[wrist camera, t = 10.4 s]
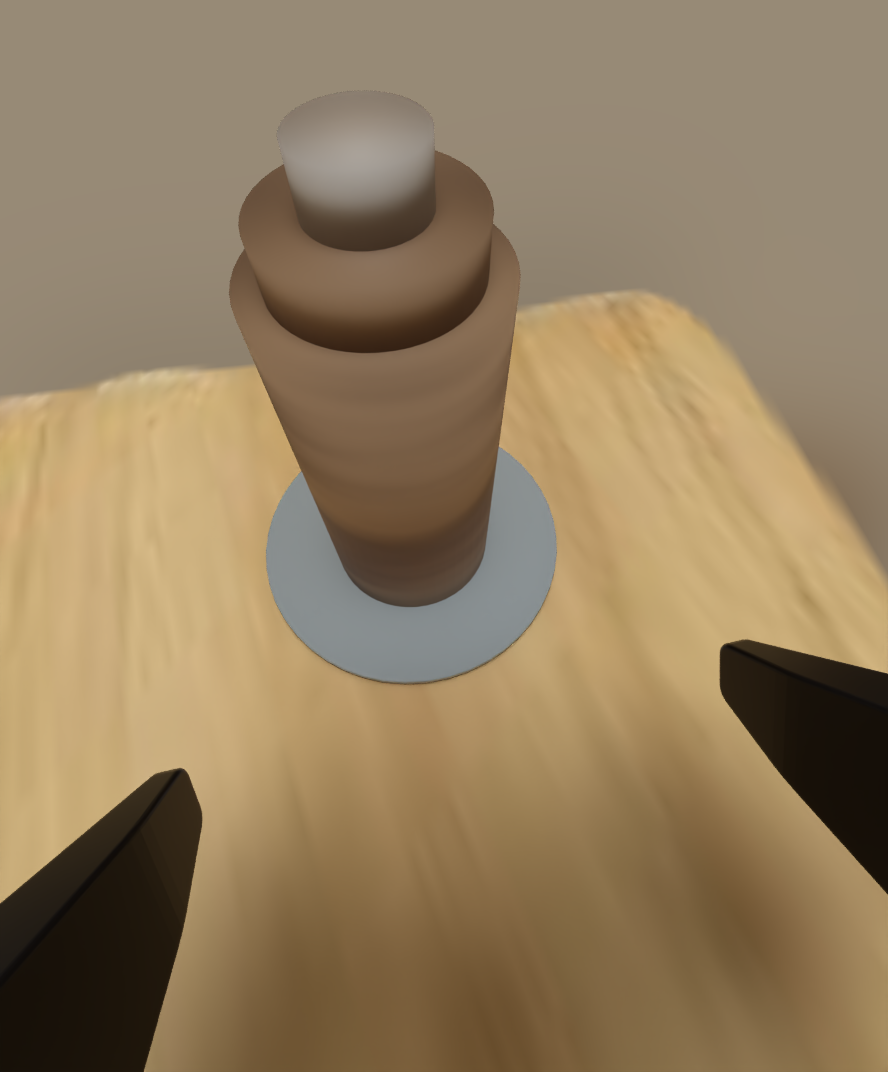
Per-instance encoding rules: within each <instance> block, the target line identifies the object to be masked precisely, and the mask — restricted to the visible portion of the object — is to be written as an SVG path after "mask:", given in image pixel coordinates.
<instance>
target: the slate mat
mask: <svg viewBox="0 0 888 1072" xmlns="http://www.w3.org/2000/svg"><path fill="white" fill-rule="evenodd" d="M556 554H557V550H556V533H555V527H554V521H553V518H552V515H551V512H550V509H549V506H548V503H547V501H546V499H545V497H544V495H543V493H542V491H541V489H540V488H539V486H538V485H537V483H536V482H535V480H534V479H533V477H532V476H531V475H530V474H529V473H528V471H527V470H526V469H525V468H524V467H523V466H522V465H521V464H520V463H519V462H518V461H517V460H516V459H515V458H513V457H512V456H511V455H510V454H509V453H507V452H506V451H504V450H503V449H502V448H500V447H499V448H498V455H497V463H496V471H495V478H494V486H493V493H492V501H491V508H490V516H489V524H488V531H487V539H486V546H485V552H484V556H483V559H482V562H481V564H480V566H479V568H478V570H477V572H476V573H475V575H474V576H473V577H472V579H471V580H470V581H469V582H468V583H467V584H466V585H465V586H464V587H463V588H462V589H461V590H459V591H458V592H457V593H455V594H454V595H452V596H450V597H449V598H447V599H445V600H442V601H440V602H437V603H434V604H430V605H427V606H420V607H399V606H393V605H389V604H385V603H383V602H380V601H377V600H375V599H373V598H372V597H370V596H368V595H367V594H365V593H364V592H362V591H361V590H360V589H359V588H358V587H357V586H356V585H355V584H354V583H353V582H352V581H351V579H350V578H349V577H348V575H347V573H346V571H345V570H344V568H343V565H342V563H341V561H340V558H339V556H338V554H337V552H336V549H335V547H334V545H333V542H332V540H331V538H330V535H329V533H328V531H327V529H326V526H325V524H324V522H323V519H322V517H321V515H320V512H319V510H318V508H317V505H316V503H315V501H314V499H313V496H312V494H311V492H310V489H309V487H308V485H307V482H306V480H305V478H304V476H303V473H302V471H301V472H300V473H299V474H298V476H297V477H296V478H295V479H294V481H293V482H292V483H291V485H290V486H289V487H288V489H287V490H286V492H285V494H284V495H283V497H282V499H281V500H280V502H279V504H278V507H277V509H276V511H275V514H274V516H273V519H272V522H271V526H270V530H269V534H268V541H267V549H266V561H267V573H268V578H269V584H270V587H271V590H272V593H273V596H274V599H275V602H276V604H277V606H278V608H279V610H280V612H281V613H282V615H283V617H284V619H285V620H286V622H287V623H288V624H289V626H290V627H291V628H292V630H293V631H294V632H295V634H296V635H297V636H298V637H299V638H300V639H301V640H302V641H303V642H304V643H305V644H306V645H307V646H308V647H309V648H310V649H311V650H312V651H313V652H315V653H316V654H318V655H319V656H320V657H322V658H323V659H324V660H326V661H327V662H329V663H331V664H333V665H334V666H336V667H338V668H340V669H342V670H344V671H346V672H349V673H351V674H354V675H357V676H360V677H362V678H366V679H370V680H375V681H380V682H384V683H397V684H418V683H430V682H435V681H440V680H445V679H449V678H452V677H455V676H458V675H461V674H464V673H467V672H470V671H472V670H474V669H476V668H478V667H480V666H482V665H484V664H486V663H488V662H489V661H491V660H492V659H494V658H495V657H497V656H498V655H500V654H501V653H503V652H504V651H505V650H506V649H507V648H508V647H509V646H511V645H512V644H513V643H514V642H515V641H516V640H517V639H518V638H519V637H520V636H521V635H522V634H523V633H524V631H525V630H526V629H527V628H528V627H529V625H530V624H531V623H532V621H533V620H534V618H535V616H536V615H537V613H538V612H539V610H540V608H541V606H542V604H543V602H544V599H545V597H546V595H547V593H548V591H549V588H550V585H551V581H552V578H553V574H554V570H555V562H556Z"/></svg>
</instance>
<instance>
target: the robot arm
mask: <svg viewBox="0 0 888 1072" xmlns="http://www.w3.org/2000/svg"><path fill="white" fill-rule="evenodd" d="M720 689H721V693H722V695H723V697H724V699H725V701H726V702H727V704H728V705H729V706H730V708H731V709H732V710H733V712H734V713H735V714H736V716H737V717H738V718H739V720H740V721H741V722H742V724H743V725H744V726H745V728H746V729H747V730H748V732H749V733H750V734H751V736H752V737H753V738H754V740H755V741H756V742H757V744H758V745H759V747H760V748H761V749H762V751H763V752H764V753H765V755H766V756H767V757H768V759H769V760H770V761H771V763H772V764H773V765H774V766H775V768H776V769H777V770H778V772H779V773H780V774H781V775H782V777H783V778H784V779H785V780H786V781H787V782H788V784H789V785H790V786H791V787H792V788H793V789H794V791H795V792H796V793H797V794H798V795H799V796H800V797H801V798H802V799H803V801H804V802H805V803H806V804H807V805H808V806H809V807H810V808H811V809H812V811H813V812H814V813H815V814H816V815H817V816H818V817H819V818H820V819H821V821H822V822H823V823H824V824H825V825H826V826H827V827H828V828H829V830H830V831H831V832H832V833H833V834H834V835H835V836H836V837H837V838H838V840H839V841H840V842H841V843H842V844H843V845H844V846H845V847H846V848H847V850H848V851H849V852H850V853H851V854H852V855H853V856H854V857H855V858H856V860H857V861H858V862H859V863H860V864H861V865H862V866H863V867H864V869H865V870H866V871H867V872H868V873H869V874H870V875H871V876H872V877H873V879H874V880H875V881H876V882H877V883H878V884H879V885H880V886H881V887H882V889H883V890H884V891H885V892H886V893H887V894H888V674H887V673H883V672H879V671H875V670H871V669H866V668H862V667H858V666H854V665H850V664H846V663H842V662H838V661H834V660H830V659H825V658H821V657H817V656H813V655H809V654H805V653H801V652H797V651H793V650H788V649H784V648H780V647H776V646H772V645H768V644H764V643H760V642H756V641H751V640H739V641H735V642H731V643H726V644H724V645H723V646H722V647H721V650H720ZM201 828H202V811H201V807H200V804H199V801H198V799H197V796H196V793H195V791H194V788H193V785H192V783H191V780H190V777H189V775H188V773H187V772H186V771H185V770H184V769H182V768H177V769H173V770H169V771H164V772H160V773H157V774H154V775H153V776H152V777H150V778H149V779H148V780H147V781H146V782H145V783H143V784H142V785H141V786H140V787H139V788H137V789H136V790H135V791H134V792H133V793H131V794H130V795H129V796H128V797H127V798H125V799H124V800H123V801H122V802H121V803H119V804H118V805H117V806H116V807H115V808H114V809H112V810H111V811H110V812H109V813H108V814H106V815H105V816H104V817H103V818H102V819H100V820H99V821H98V822H97V823H96V824H94V825H93V826H92V827H91V828H90V829H88V830H87V831H86V832H85V833H84V834H83V835H81V836H80V837H79V838H78V839H77V840H75V841H74V842H73V843H72V844H71V845H69V846H68V847H67V848H66V849H65V850H63V851H62V852H61V853H60V854H59V855H58V856H56V857H55V858H54V859H53V860H52V861H50V862H49V863H48V864H47V865H46V866H44V867H43V868H42V869H41V870H40V871H38V872H37V873H36V874H35V875H34V876H32V877H31V878H30V879H29V880H28V881H27V882H25V883H24V884H23V885H22V886H21V887H19V888H18V889H17V890H16V891H15V892H13V893H12V894H11V895H10V896H9V897H7V898H6V899H5V900H4V901H3V902H1V903H0V1072H144V1069H145V1065H146V1061H147V1058H148V1054H149V1051H150V1047H151V1044H152V1040H153V1037H154V1033H155V1029H156V1026H157V1022H158V1019H159V1015H160V1012H161V1008H162V1004H163V1001H164V997H165V994H166V990H167V987H168V983H169V979H170V976H171V972H172V969H173V965H174V962H175V958H176V955H177V951H178V947H179V943H180V939H181V936H182V932H183V927H184V922H185V918H186V913H187V907H188V901H189V896H190V890H191V885H192V879H193V873H194V868H195V862H196V856H197V851H198V845H199V839H200V834H201Z"/></svg>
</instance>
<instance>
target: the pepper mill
mask: <svg viewBox="0 0 888 1072" xmlns="http://www.w3.org/2000/svg"><path fill="white" fill-rule="evenodd" d="M277 140H278V143H279V147H280V151H281V155H282V159H283V163H284V164H283V165H282V166H280V167H278V168H277V169H275V170H274V171H272V172H271V173H269V174H268V175H267V176H265V177H264V178H263V179H262V180H261V181H260V182H259V183H258V184H257V185H256V186H255V187H254V188H253V189H252V190H251V192H250V193H249V194H248V196H247V197H246V199H245V201H244V203H243V205H242V208H241V211H240V215H239V232H240V237H241V240H242V242H243V245H244V248H245V249H244V251H243V252H242V254H241V255H240V257H239V259H238V260H237V263H236V264H235V267H234V269H233V272H232V276H231V280H230V289H229V295H230V303H231V308H232V310H233V313H234V316H235V319H236V321H237V324H238V326H239V328H240V330H241V333H242V335H243V337H244V340H245V342H246V344H247V347H248V349H249V351H250V353H251V356H252V358H253V360H254V363H255V365H256V367H257V370H258V372H259V374H260V377H261V379H262V381H263V383H264V386H265V388H266V390H267V393H268V395H269V397H270V400H271V402H272V404H273V406H274V409H275V411H276V413H277V416H278V418H279V420H280V423H281V425H282V427H283V429H284V432H285V434H286V436H287V439H288V441H289V443H290V446H291V448H292V450H293V453H294V455H295V457H296V459H297V462H298V464H299V466H300V469H301V471H302V473H303V476H304V478H305V480H306V482H307V485H308V487H309V489H310V492H311V494H312V496H313V499H314V501H315V503H316V505H317V508H318V510H319V512H320V515H321V517H322V519H323V522H324V524H325V526H326V529H327V531H328V533H329V535H330V538H331V540H332V542H333V545H334V547H335V549H336V552H337V554H338V556H339V558H340V561H341V563H342V565H343V568H344V570H345V571H346V573H347V575H348V577H349V578H350V579H351V581H352V582H353V583H354V584H355V585H356V586H357V587H358V588H359V589H360V590H361V591H362V592H364V593H365V594H367V595H368V596H370V597H372V598H373V599H375V600H377V601H380V602H383V603H385V604H389V605H393V606H399V607H420V606H427V605H430V604H434V603H437V602H440V601H442V600H445V599H447V598H449V597H450V596H452V595H454V594H455V593H457V592H458V591H459V590H461V589H462V588H463V587H464V586H465V585H466V584H467V583H468V582H469V581H470V580H471V579H472V577H473V576H474V575H475V573H476V572H477V570H478V568H479V566H480V564H481V562H482V559H483V556H484V552H485V546H486V539H487V531H488V524H489V516H490V508H491V501H492V493H493V486H494V478H495V471H496V463H497V455H498V448H499V440H500V433H501V425H502V418H503V410H504V402H505V395H506V387H507V380H508V372H509V365H510V357H511V349H512V342H513V334H514V327H515V319H516V312H517V304H518V296H519V289H520V268H519V262H518V259H517V256H516V253H515V251H514V249H513V247H512V245H511V244H510V242H509V240H508V239H507V238H506V237H505V235H504V234H503V233H502V232H501V231H500V230H499V229H498V228H497V227H496V226H495V225H494V224H493V216H494V207H493V200H492V197H491V194H490V191H489V190H488V188H487V186H486V184H485V183H484V182H483V180H482V179H481V178H480V177H479V176H478V175H477V174H476V173H475V172H474V171H473V170H472V169H470V168H469V167H468V166H466V165H465V164H463V163H461V162H460V161H458V160H456V159H454V158H452V157H450V156H448V155H446V154H443V153H440V152H438V151H435V148H434V122H433V119H432V117H431V115H430V113H429V112H428V111H427V110H426V109H425V108H424V107H423V106H421V105H420V104H418V103H417V102H415V101H413V100H411V99H409V98H406V97H403V96H400V95H396V94H393V93H387V92H380V91H347V92H340V93H334V94H329V95H325V96H322V97H318V98H316V99H313V100H310V101H308V102H306V103H304V104H302V105H300V106H298V107H297V108H295V109H294V110H292V111H291V112H290V113H289V114H288V115H286V116H285V117H284V119H283V120H282V121H281V123H280V125H279V127H278V130H277Z"/></svg>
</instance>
